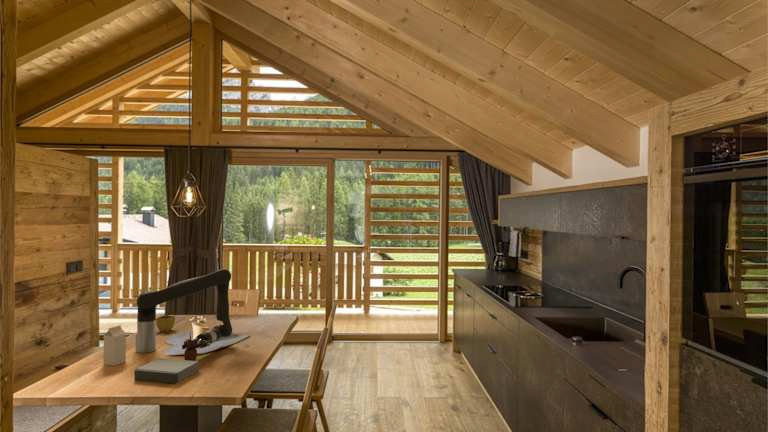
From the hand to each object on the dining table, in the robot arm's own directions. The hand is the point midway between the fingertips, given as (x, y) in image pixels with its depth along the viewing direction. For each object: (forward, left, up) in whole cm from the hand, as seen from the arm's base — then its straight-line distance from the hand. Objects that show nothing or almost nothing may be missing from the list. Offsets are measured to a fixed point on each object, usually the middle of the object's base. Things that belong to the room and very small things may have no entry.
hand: (187, 347), depth 238 cm
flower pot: (-54, +55, -9) cm, 77 cm away
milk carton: (-37, -7, -9) cm, 39 cm away
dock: (+1, -16, -8) cm, 18 cm away
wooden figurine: (0, +3, -9) cm, 9 cm away
